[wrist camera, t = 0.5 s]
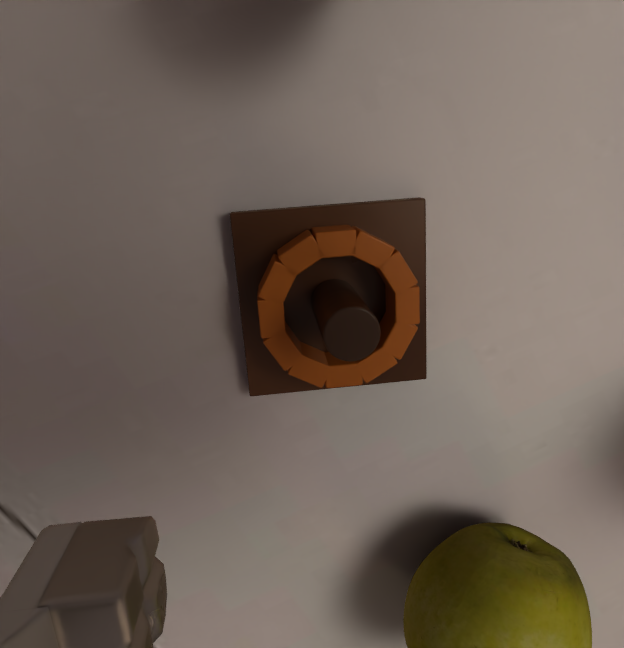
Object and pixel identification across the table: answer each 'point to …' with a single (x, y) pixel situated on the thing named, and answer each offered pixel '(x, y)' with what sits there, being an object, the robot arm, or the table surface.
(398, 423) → the table surface
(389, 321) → the ring
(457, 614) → the apple
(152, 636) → the robot arm
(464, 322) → the table surface
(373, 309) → the post
